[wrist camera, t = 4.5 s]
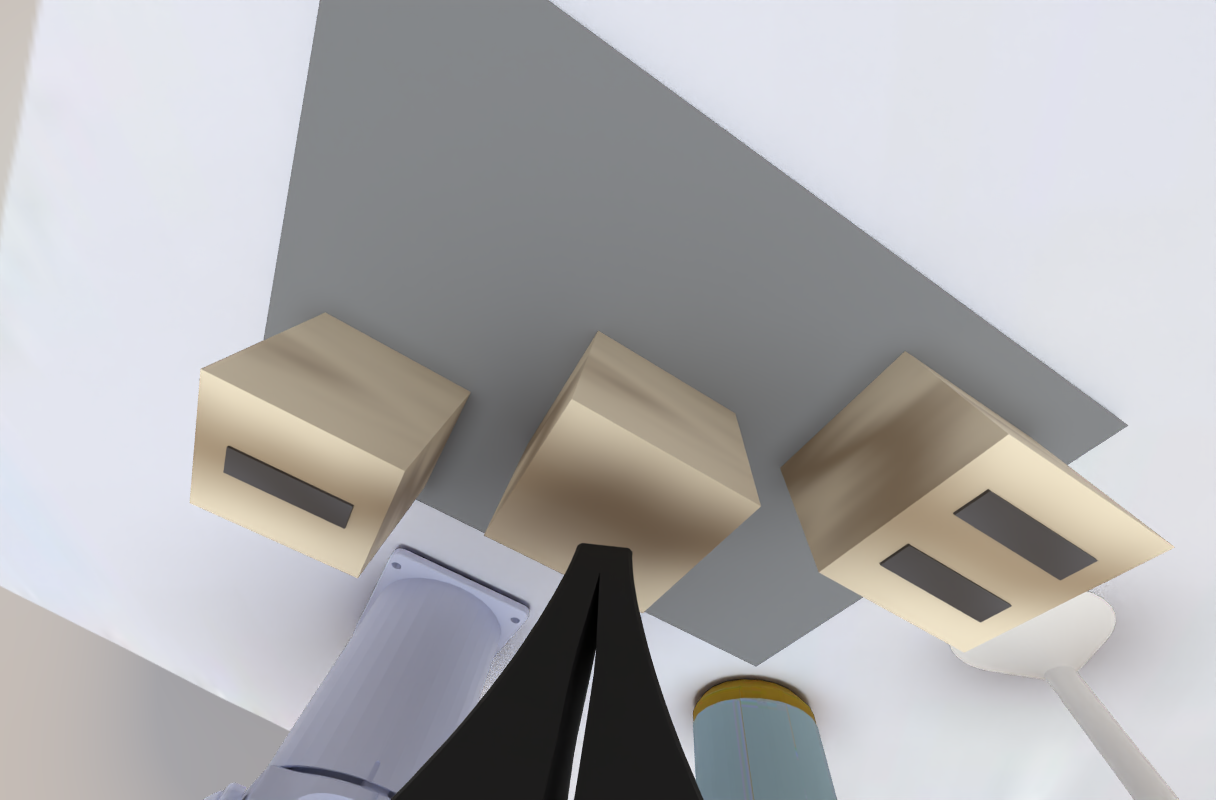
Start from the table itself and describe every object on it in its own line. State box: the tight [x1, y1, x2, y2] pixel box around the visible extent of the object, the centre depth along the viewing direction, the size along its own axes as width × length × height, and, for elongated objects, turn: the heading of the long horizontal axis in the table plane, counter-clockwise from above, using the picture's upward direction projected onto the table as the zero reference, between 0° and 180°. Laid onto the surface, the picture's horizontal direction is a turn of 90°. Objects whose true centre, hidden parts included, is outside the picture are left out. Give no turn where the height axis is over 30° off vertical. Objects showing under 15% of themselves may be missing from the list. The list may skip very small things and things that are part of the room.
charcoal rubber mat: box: [264, 0, 1128, 666], centre depth 17 cm, size 19×28×1 cm
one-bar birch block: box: [190, 313, 471, 578], centre depth 16 cm, size 6×6×5 cm
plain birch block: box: [484, 331, 761, 613], centre depth 15 cm, size 6×6×5 cm
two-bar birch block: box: [780, 351, 1174, 653], centre depth 14 cm, size 6×6×5 cm
